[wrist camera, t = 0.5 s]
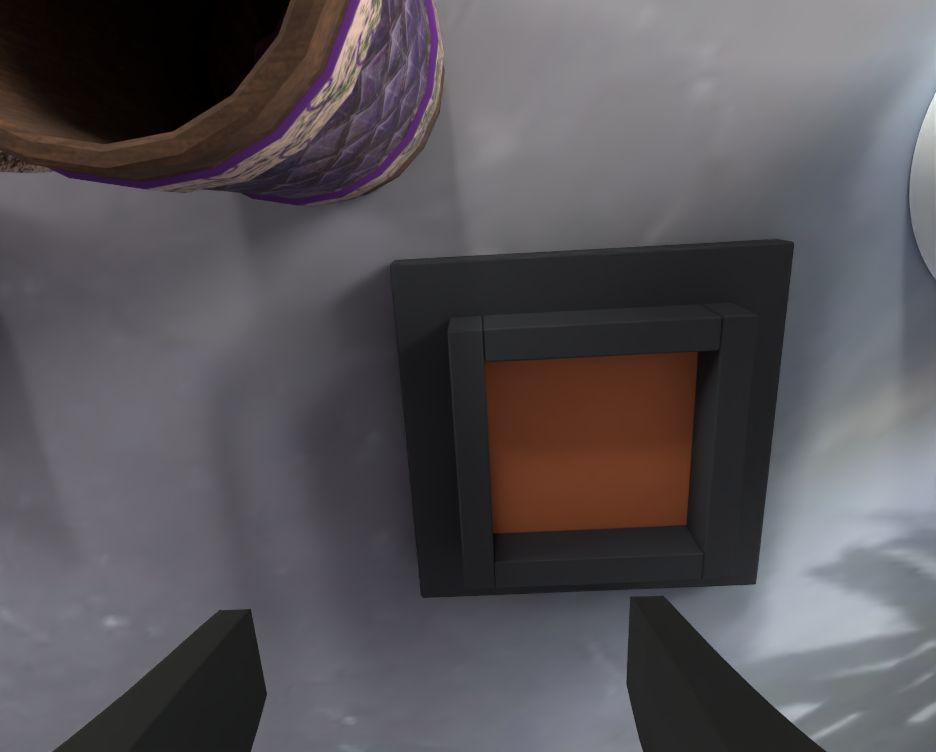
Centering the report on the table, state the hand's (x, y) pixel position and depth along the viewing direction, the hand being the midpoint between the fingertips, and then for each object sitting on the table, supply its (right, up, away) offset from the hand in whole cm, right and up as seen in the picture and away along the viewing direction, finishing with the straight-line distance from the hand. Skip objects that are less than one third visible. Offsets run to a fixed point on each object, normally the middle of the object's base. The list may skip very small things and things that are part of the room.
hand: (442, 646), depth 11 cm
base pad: (+4, +3, +9) cm, 11 cm away
